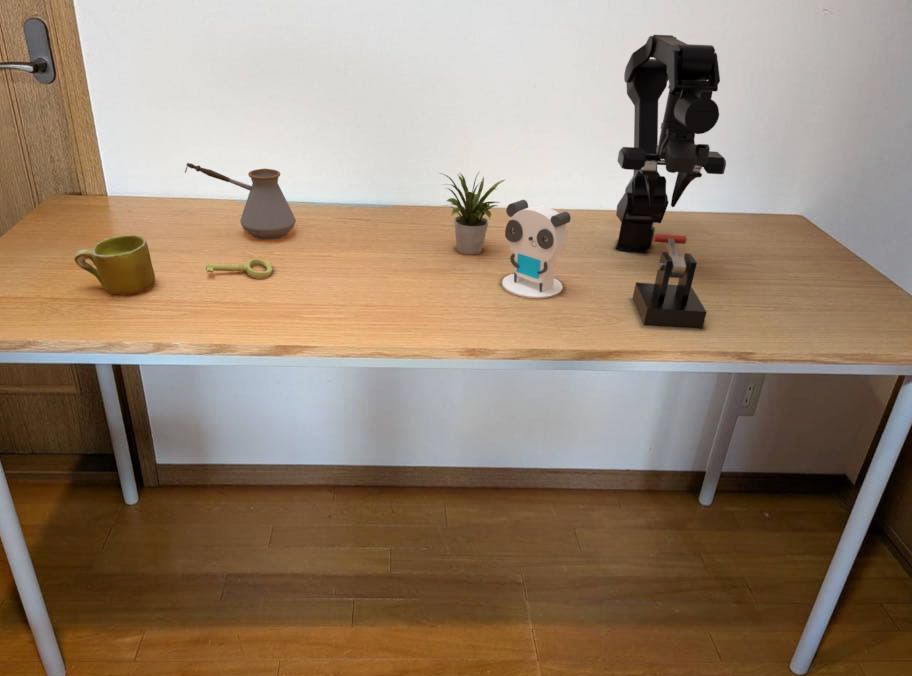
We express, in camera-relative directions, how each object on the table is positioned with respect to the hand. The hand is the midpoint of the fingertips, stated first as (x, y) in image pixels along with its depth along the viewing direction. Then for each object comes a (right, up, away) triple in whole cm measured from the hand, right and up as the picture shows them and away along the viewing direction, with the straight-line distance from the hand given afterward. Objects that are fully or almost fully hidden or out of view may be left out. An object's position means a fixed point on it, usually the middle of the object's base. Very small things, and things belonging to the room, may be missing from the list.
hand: (661, 205), depth 143 cm
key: (-80, -13, -2) cm, 81 cm away
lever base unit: (-3, -22, -10) cm, 25 cm away
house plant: (-38, -6, +12) cm, 40 cm away
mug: (-100, -17, -9) cm, 102 cm away
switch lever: (-2, -13, -12) cm, 18 cm away
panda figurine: (-25, -16, -2) cm, 30 cm away
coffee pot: (-84, -2, +15) cm, 85 cm away
